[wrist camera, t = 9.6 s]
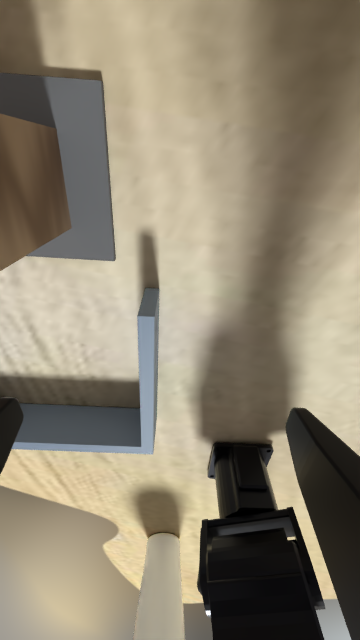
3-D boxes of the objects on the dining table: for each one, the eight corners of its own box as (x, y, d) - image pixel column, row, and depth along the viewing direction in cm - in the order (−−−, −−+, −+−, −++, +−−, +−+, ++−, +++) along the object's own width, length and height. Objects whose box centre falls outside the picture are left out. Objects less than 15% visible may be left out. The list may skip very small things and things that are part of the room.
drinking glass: (168, 525, 39) (162, 701, 26) (192, 540, 42) (197, 705, 29) (134, 535, 41) (112, 704, 28) (159, 549, 44) (150, 707, 31)
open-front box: (156, 415, 26) (153, 454, 22) (-6, 409, 25) (-34, 447, 22) (159, 288, 19) (154, 316, 15) (-68, 275, 18) (-125, 302, 15)
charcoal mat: (115, 259, 17) (114, 261, 17) (-35, 250, 17) (-40, 252, 17) (102, 82, 13) (100, 80, 12) (-105, 66, 13) (-112, 63, 12)
